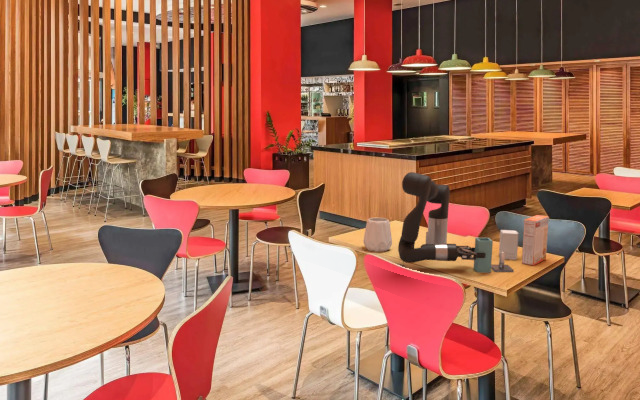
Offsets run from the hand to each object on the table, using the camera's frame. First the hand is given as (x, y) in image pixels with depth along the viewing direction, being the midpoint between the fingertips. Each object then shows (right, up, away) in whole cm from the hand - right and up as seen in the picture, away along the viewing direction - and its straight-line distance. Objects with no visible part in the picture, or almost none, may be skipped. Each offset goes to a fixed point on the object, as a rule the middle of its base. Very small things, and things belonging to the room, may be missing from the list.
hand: (482, 252), depth 230 cm
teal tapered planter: (0, -8, +1) cm, 8 cm away
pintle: (+9, -8, +3) cm, 12 cm away
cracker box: (+28, -6, +16) cm, 33 cm away
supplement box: (+19, -5, +22) cm, 29 cm away
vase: (-42, -2, +35) cm, 55 cm away
